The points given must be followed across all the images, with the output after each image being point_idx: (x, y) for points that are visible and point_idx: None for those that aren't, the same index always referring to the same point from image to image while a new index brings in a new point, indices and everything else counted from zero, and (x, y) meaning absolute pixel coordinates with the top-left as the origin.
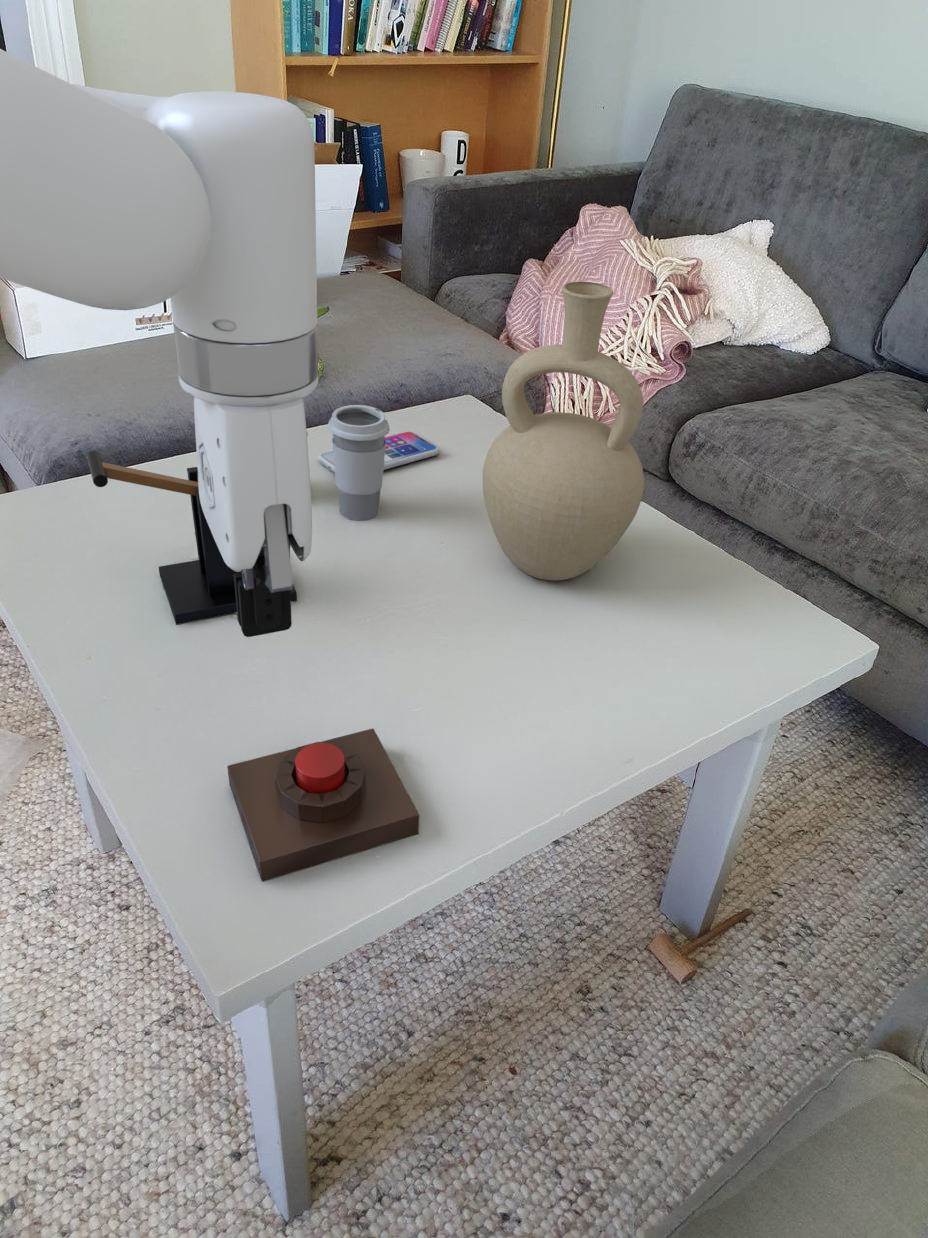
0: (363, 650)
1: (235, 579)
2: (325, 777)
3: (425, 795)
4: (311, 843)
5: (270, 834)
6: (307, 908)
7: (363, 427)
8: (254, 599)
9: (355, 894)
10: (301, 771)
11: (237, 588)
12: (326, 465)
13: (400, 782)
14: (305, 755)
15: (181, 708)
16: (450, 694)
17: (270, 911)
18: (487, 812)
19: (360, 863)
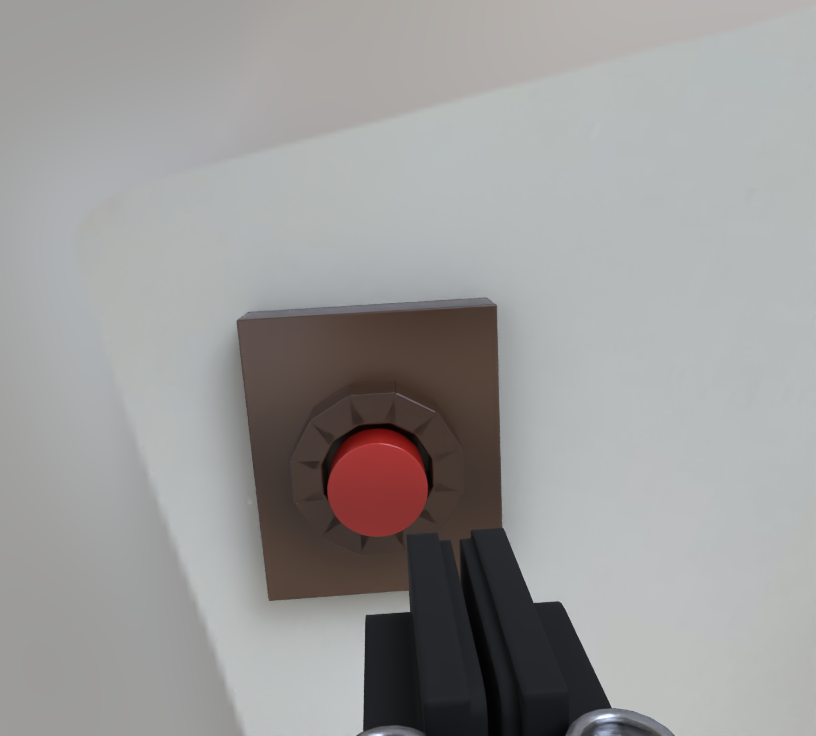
0: (759, 606)
1: (522, 685)
2: (327, 489)
3: (356, 607)
4: (253, 415)
5: (296, 350)
6: (175, 372)
7: None
8: (385, 709)
9: (183, 450)
10: (355, 450)
11: (507, 650)
12: None
13: (351, 592)
14: (399, 466)
15: (732, 240)
16: None
17: (185, 314)
18: (290, 684)
19: (243, 472)
